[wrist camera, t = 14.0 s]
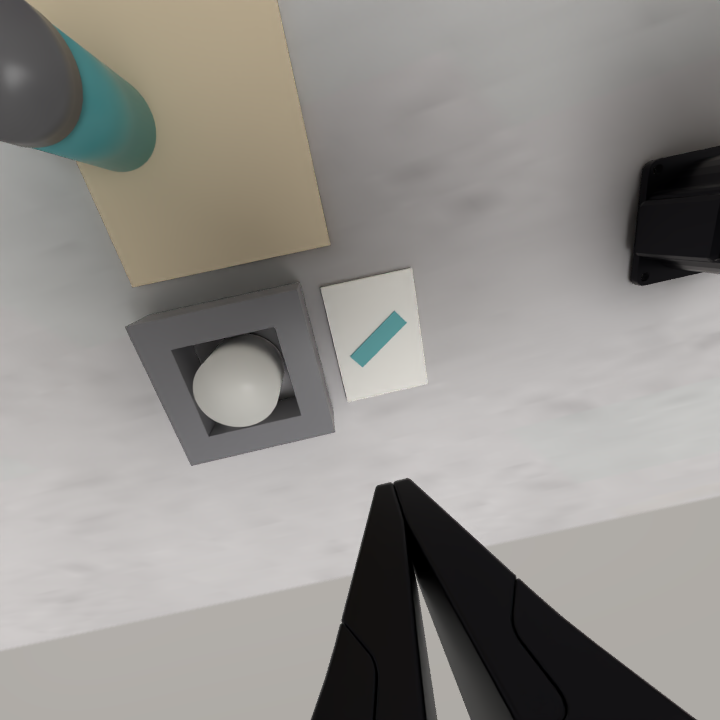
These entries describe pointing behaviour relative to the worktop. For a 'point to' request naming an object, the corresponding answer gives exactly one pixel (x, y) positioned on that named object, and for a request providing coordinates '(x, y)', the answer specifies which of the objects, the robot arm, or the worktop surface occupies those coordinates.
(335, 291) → the card
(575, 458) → the worktop surface
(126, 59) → the paper pad
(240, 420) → the button
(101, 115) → the teal grey-topped cylinder
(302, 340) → the button housing
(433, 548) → the robot arm
